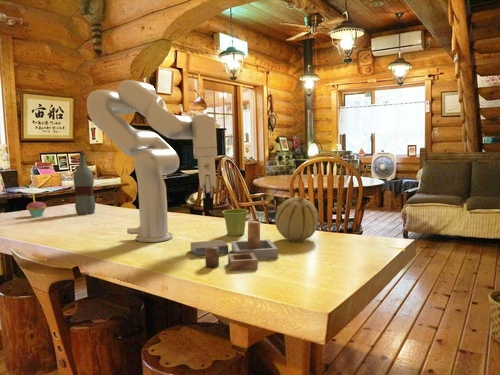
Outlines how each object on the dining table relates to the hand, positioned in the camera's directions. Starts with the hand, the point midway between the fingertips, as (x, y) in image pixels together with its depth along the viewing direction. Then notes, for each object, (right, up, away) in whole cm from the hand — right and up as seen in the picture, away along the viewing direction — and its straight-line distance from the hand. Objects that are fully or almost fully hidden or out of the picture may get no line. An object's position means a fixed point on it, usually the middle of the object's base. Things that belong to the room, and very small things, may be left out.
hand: (208, 210), depth 133 cm
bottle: (-68, -6, +70) cm, 97 cm away
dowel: (+15, -12, -11) cm, 22 cm away
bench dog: (+3, -14, -23) cm, 27 cm away
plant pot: (+8, -10, +16) cm, 21 cm away
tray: (+15, -12, -11) cm, 22 cm away
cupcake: (-89, -7, +64) cm, 110 cm away
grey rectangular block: (+1, -13, -8) cm, 15 cm away
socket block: (+12, -14, -23) cm, 29 cm away
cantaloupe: (+29, -11, +5) cm, 32 cm away
